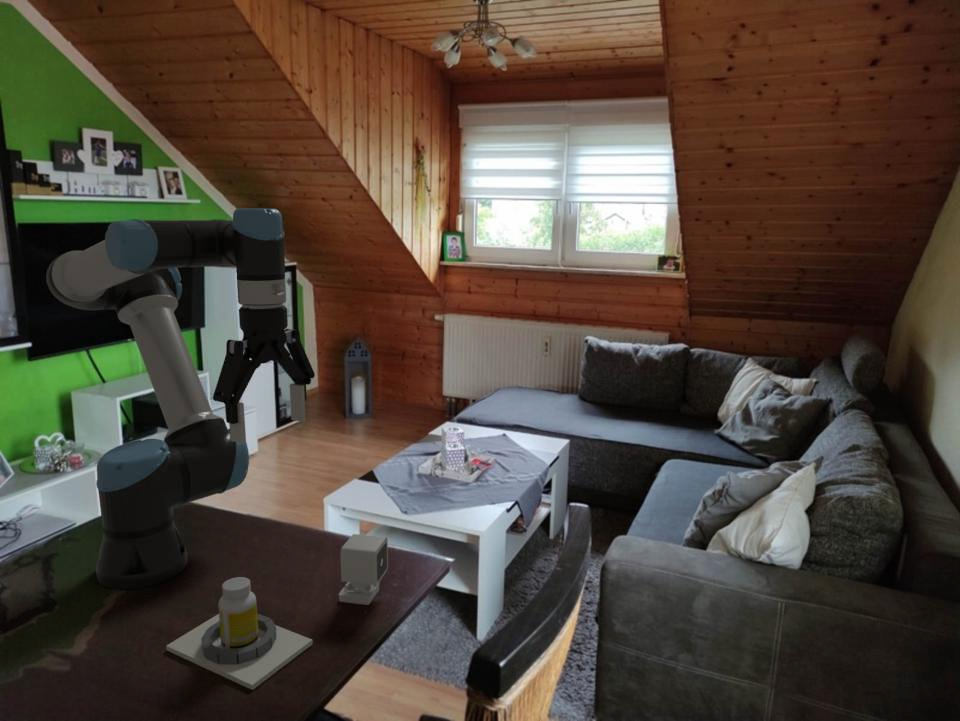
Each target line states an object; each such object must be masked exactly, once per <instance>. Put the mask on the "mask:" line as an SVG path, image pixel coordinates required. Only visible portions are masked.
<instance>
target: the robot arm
mask: <svg viewBox="0 0 960 721" xmlns="http://www.w3.org/2000/svg"><path fill="white" fill-rule="evenodd" d="M285 258H286V257H285V232H284V227H283V216H282V213H281V212H280V211H279V210H278V209H276V208H252V207H251V208H248V207H246V208H245V207H244V208H243V207H242V208H236V209H235V210H234V211H233V213H232V220H231V219H230V220H228V219H221V218H220V219H210V220H209V219H208V220H207V219H205V220H204V219H203V220H202V219H196V220H195V219H193V220H191V219H190V220H189V219H186V220H185V219H184V220H183V219H181V220H168V219H167V220H165V219H162V220H159V219H158V220H157V219H156V220H153V219H152V220H151V219H150V220H149V219H148V220H146V219H137V218H134V219H128V220H115V221H113V222H111V223H110V224H109V225H108V227H107V230H106V232H105V234H104V240H102V241H100V242H98V243H96V244H94V245H92V246H90V247H88V248H86V249H84V250H71V251H67V252H65V253H63V254H61V255H59V256H58V257H56V258H55V259H54V260H52V262H51V263H50V264H49V266H48V268H47V271H46V276H45V278H46V284H47V286H48V289H49V291H50V293H51V294H52V295H53V296H54V297H55V298H56V299H58V301H59V302H62V303H63V304H64V305H67V306H69V307H71V308H74V309H78V310H82V311H83V310H84V311H103V310H104V311H105V310H115V312H116V315H117V318H118V320H119V321H120V322H121V323H124V324H125V325H127V326H130V330H131V331H132V334H133V338H134V340H135V343H136V345H137V348H138V351H139V354H140V356H141V358H142V361H143V364H144V367H145V369H146V372H147V375H148V378H149V381H150V383H151V385H152V388H153V391H154V394H155V396H156V399H157V402H158V404H159V408H160V409H161V412H162V415H163V418H164V421H165V423H166V426H167V429H168V430H167V432H166V434H165V435H164V437H163V439H159V438H146V439H144V440H142V439H137V440H133V441H129V442H126V443H123V444H120V445H118V446H115V447H114V448H112V449H109V450H108V451H106V452H105V453H104V454H103V455H102V456H101V457H100V459H99V460H98V462H97V463H96V464H97V465H96V478H97V480H96V483H95V484H96V488H97V489H98V498H99V507H100V514H101V517H100V518H101V524H102V532H103V533H102V534H103V536H102V541H101V543H100V544H101V545H100V549H99V553H98V559H97V561H96V563H95V571H96V579H97V582H98V583H99V584H100V585H102V586H103V587H105V588H108V589H114V590H133V589H140V588H141V589H142V588H145V587H150V586H154V585H156V584H160V583H162V582H166V581H168V580H169V579H172V578H173V577H175V576H176V575H178V574H179V573H181V572H182V571H183V570H184V569H185V567H186V566H187V564H188V562H189V561H188V552H187V550H188V549H187V547H186V545H185V542H184V540H183V539H182V536H181V535H180V533H179V531H178V529H177V526H176V525H175V521H174V520H175V518H174V508H175V507H178V506H182V505H184V504H185V505H186V504H188V503H192V502H195V501H198V500H203V499H204V498H208V497H211V496H214V495H221V494H224V493H225V492H226V491H227V492H228V491H230V490H231V489H234V488H235V489H236V488H237V487H239V486H241V484H242V483H243V482H244V481H245V479H246V478H247V474H248V472H249V465H250V454H249V447H248V443H247V435H246V421H245V419H246V418H245V404H244V402H240V401H241V398H242V397H243V395H244V393H245V391H246V389H247V387H248V385H249V383H250V381H251V379H252V378H253V376H254V374H255V373H256V370H257V369H259V368H260V367H261V365H262V364H267V363H269V362H271V361H272V362H277V363H278V365H279V366H280V368H282V370H283V371H284V372H285V373H286V375H287V376H288V377H289V378H290V379H291V380H292V382H293V383H289V399H290V401H289V402H290V419H291V421H296V422H301V423H304V422H306V421H307V419H306V418H307V416H306V415H307V414H306V401H307V385H310V384H311V383H312V379H314V378H315V372H314V369H313V367H312V364H311V362H310V360H309V357H308V355H307V353H306V351H305V349H304V346H303V344H302V342H301V341H302V340H301V334H300V330H298V329H291V328H288V325H289V324H288V308H287V307H286V305H284V304H285V303H286V302H287V290H286V289H287V288H286V287H287V286H286V285H287V284H286V260H285ZM218 266H219V267H220V266H223V267H224V266H226V267H227V266H229V267H235V268H236V287H237V288H236V289H237V302H238V304H239V305H241V306H240V307H239V308H238V318H239V319H238V320H239V321H238V322H239V328H240V330H241V331H242V333H243V335H242V340H236V339H227V341H226V346H225V347H226V350H225V351H226V352H225V357H224V360H223V363H222V366H221V370H220V373H219V376H218V380H217V382H216V385H215V388H214V393H213V395H212V400H213V401H214V402H219V403H223V404H224V410H225V411H224V412H225V418H223V417H222V416H219V415H216V414H214V412H213V410H212V407H211V405H210V402H209V400H208V397H207V395H206V393H205V390H204V388H203V385H202V382H201V380H200V377H199V375H198V374H199V373H198V371H197V369H196V366H195V364H194V362H193V361H194V360H193V359H192V356H191V354H190V351H189V349H188V345H187V343H186V341H185V338H184V336H183V334H182V333H183V332H182V331H181V328H180V325H179V323H178V321H177V320H178V319H177V318H176V315H175V311H176V309H177V308H178V306H179V302H178V301H179V300H180V299H181V297H182V292H183V288H182V287H183V284H182V283H181V281H182V277H181V274H180V272H179V271H180V270H179V269H178V268H180V269H181V268H182V269H183V268H200V267H202V268H203V267H218ZM285 345H286V347H285ZM227 424H228V425H229V426H228V427H229V428H228V427H227Z"/></svg>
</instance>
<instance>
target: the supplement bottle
mask: <svg viewBox="0 0 960 721" xmlns="http://www.w3.org/2000/svg"><path fill="white" fill-rule="evenodd" d="M221 590H222V596H221V597H220V598H219V601H218V604H217V605H218V607H217V608H218V614H219V621H220V635H221V645H222V647H223V649H241V648H244V647H248V646H251V645H253V644H255V643H256V642H257V641H258V636H259V635H258V618H257V614H258V607H257V606H258V604H257V597H256V594H255V593H254V592H253V591H251V590H252V586H251V580H250V579H249V578H247V577H245V576H238V577H232V578H230V579H227V580H226V581H224V582H223V583H222V586H221Z"/></svg>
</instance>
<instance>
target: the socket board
mask: <svg viewBox="0 0 960 721" xmlns="http://www.w3.org/2000/svg"><path fill="white" fill-rule="evenodd" d="M257 618H258V635H259V636H258V641H257V642H256V643H255V644H253V645H251V646H248V647H244V648H241V649H223V647H222V645H221V635H220V621H219V613H218V614H216V615H214V616H213V617H211V618H210V619H208V620H206V621H205V622H203V623H201V624H199V625H198V626H196V627H194V628H193V629H192V630H189V631H188V632H185V633H184V634H183V635H182V636H180V637H178V638H176V639H175V640H173V641H172V642H170V643H169V644H168V643H167V645H166V646H165V647H166V651H168V652H170V653H171V654H174V655H175V656H177V657H180V658H182V659H184V660H187V661H188V662H190V663H194V664H195V665H197V666H200V667H201V668H205V669H206V670H208V671H211V672H213V673H214V674H217V675H219V676H222V677H223V678H225V679H227V680H230V681H232V682H235V683H237V684H238V685H240V686H243V687H245V688H247V689H249V690H252V691H253V690H255V689H256V688H257V687H259V686H260V685H261V684H263V683H264V682H266V681H267V680H268V679H269V678H271V677H272V676H273V675H275V674H277V672H278V671H280V669H283V668H284V667H285V666H286V665H288V664H289V663H290V662H291V661H293V660H294V659H296V658H297V657H298V656H299V655H301V654H302V653H303V652H305V651H306V650H307V649H308V648H310V647H311V646H312V645H313V644H314V642H313V639H312V638H309V637H306V636H304V635H301V634H299V633H297V632H293V631H292V630H289V629H286V628H284V627H281V626H278V625H276V624H275V622H274V620H273V619H272V618H270V617H268V616H265V615H263V614H260V613H257Z"/></svg>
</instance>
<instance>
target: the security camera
mask: <svg viewBox="0 0 960 721" xmlns="http://www.w3.org/2000/svg"><path fill="white" fill-rule="evenodd" d="M388 542H389V541H388V537H387V536H379V535H378V536H377V535H367V534H358V533H357V534H356V533H353V534H352V535H351V536H350V537H349V538H348V540H346V542H344V544H343V545H342V546H341V548H340V576H341V582H342V583H345V582H346V584H345V585H344V587H343V588H342V589H341V590H340V591H339V593H338V601H339V602H340V603H349V604H356V605H366V606H369V605H370V604H371V602H372V601H373V600H374V599H375V596H376V595H377V594H378V593H379V590H380V583H381V580H382V579H383V578H384V576H385V575H386V573H387V571H388V569H389V550H388V546H389V545H388V544H389V543H388Z"/></svg>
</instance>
